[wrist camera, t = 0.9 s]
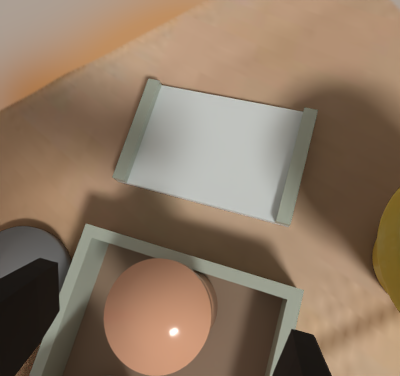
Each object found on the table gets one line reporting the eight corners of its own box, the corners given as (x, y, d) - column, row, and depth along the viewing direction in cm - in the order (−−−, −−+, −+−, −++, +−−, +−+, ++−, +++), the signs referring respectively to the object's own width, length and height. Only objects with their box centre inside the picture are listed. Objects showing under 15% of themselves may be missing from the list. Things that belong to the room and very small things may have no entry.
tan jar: (207, 363, 22) (191, 393, 16) (128, 333, 23) (88, 352, 18) (231, 276, 23) (223, 276, 18) (155, 252, 25) (124, 245, 19)
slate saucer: (46, 362, 24) (40, 365, 24) (-48, 322, 26) (-57, 323, 26) (89, 244, 26) (84, 243, 25) (-2, 215, 28) (-9, 213, 27)
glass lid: (288, 227, 24) (290, 224, 23) (118, 181, 27) (112, 177, 26) (314, 117, 26) (318, 109, 25) (153, 86, 29) (148, 78, 28)
